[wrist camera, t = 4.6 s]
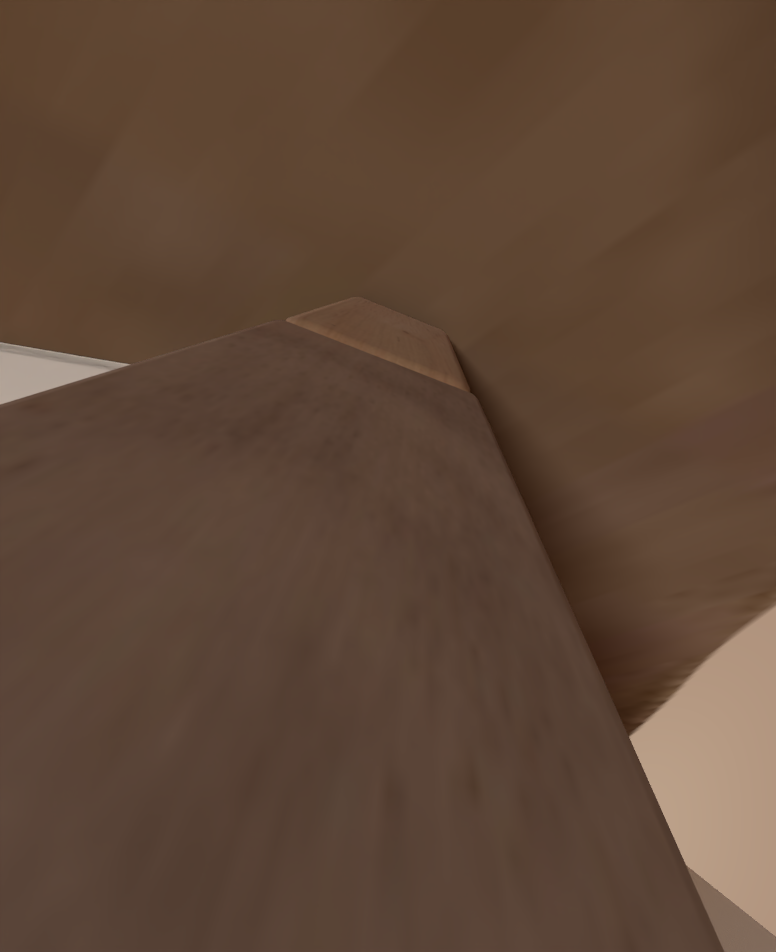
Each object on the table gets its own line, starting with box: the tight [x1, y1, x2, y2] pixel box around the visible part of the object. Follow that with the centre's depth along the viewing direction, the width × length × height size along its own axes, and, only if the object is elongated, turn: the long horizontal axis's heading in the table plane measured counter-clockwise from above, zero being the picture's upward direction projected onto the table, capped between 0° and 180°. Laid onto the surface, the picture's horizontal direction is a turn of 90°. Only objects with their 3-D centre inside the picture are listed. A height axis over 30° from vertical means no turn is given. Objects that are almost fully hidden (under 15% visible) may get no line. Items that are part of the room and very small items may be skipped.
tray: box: [0, 343, 130, 404], centre depth 16 cm, size 20×15×5 cm
